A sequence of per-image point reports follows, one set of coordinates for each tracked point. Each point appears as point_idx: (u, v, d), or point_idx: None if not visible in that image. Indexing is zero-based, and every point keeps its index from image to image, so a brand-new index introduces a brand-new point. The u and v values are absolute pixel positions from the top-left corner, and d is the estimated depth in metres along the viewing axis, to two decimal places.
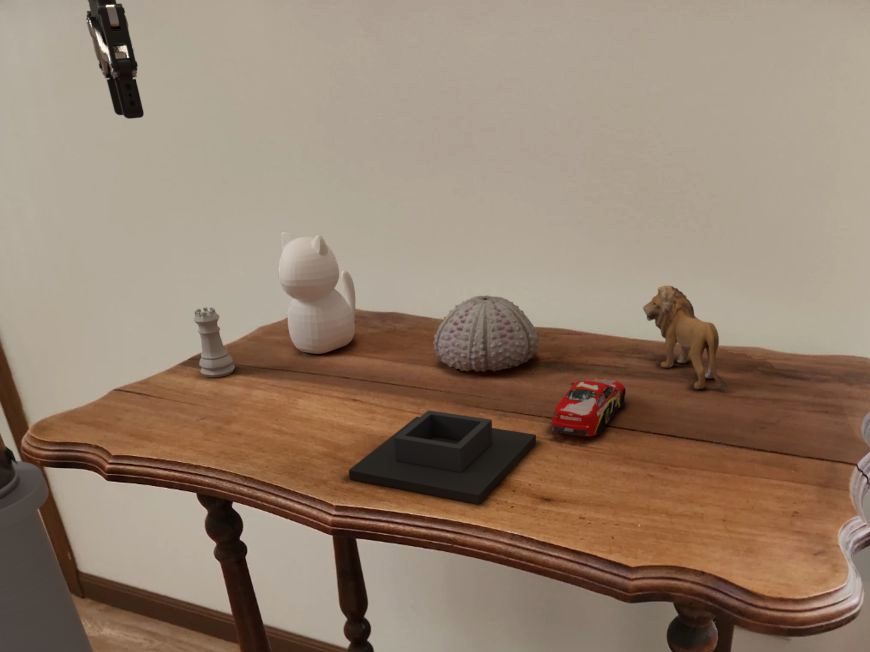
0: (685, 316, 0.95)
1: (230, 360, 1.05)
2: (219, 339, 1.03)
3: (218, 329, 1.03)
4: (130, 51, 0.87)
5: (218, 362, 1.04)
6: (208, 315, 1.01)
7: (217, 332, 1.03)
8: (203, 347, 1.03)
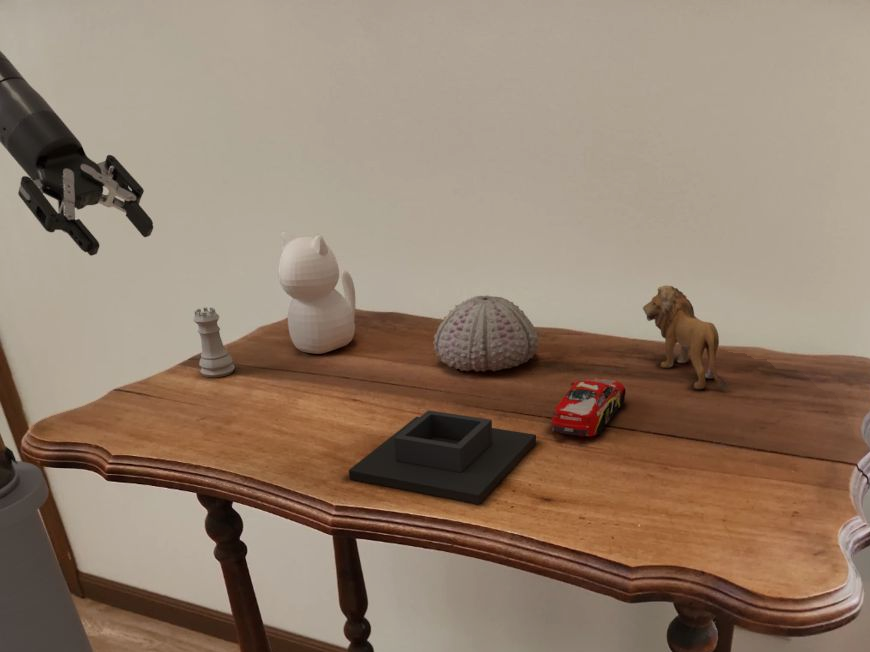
0: (685, 316, 0.95)
1: (230, 360, 1.05)
2: (219, 339, 1.03)
3: (218, 329, 1.03)
4: (131, 192, 1.06)
5: (218, 362, 1.04)
6: (208, 315, 1.01)
7: (217, 332, 1.03)
8: (203, 347, 1.03)
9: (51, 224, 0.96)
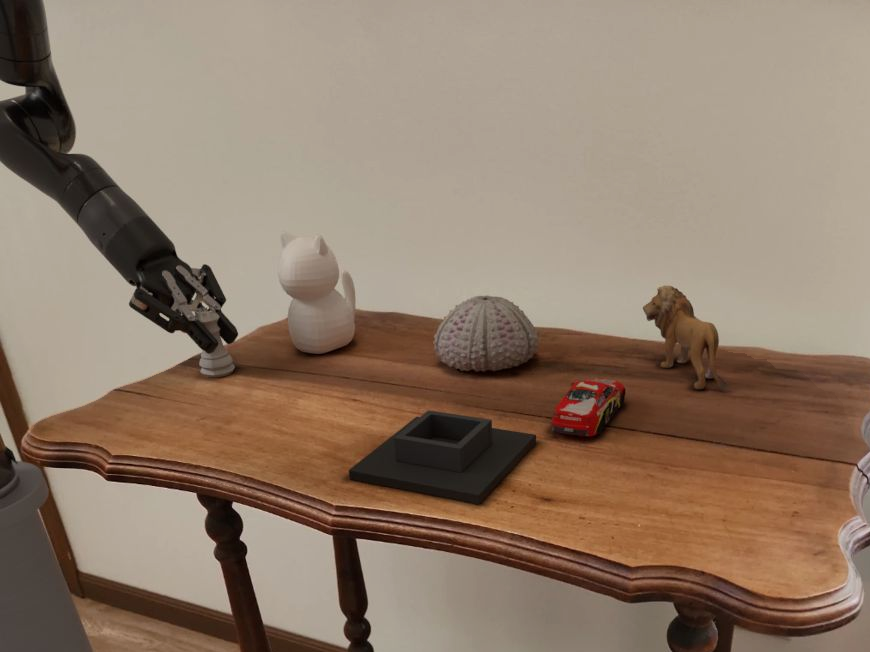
0: (684, 317, 0.95)
1: (230, 360, 1.05)
2: (219, 339, 1.03)
3: (218, 329, 1.03)
4: None
5: (218, 362, 1.04)
6: (208, 315, 1.01)
7: (217, 332, 1.03)
8: None
9: (174, 326, 0.99)
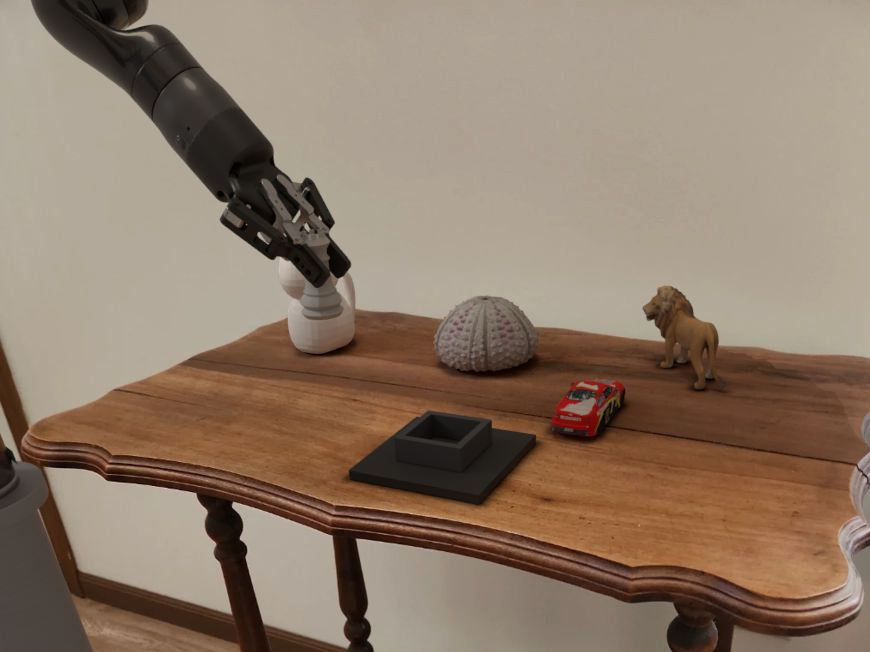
0: (684, 317, 0.95)
1: (340, 298, 0.83)
2: None
3: (328, 257, 0.81)
4: None
5: (326, 300, 0.82)
6: (317, 238, 0.79)
7: (327, 261, 0.81)
8: (308, 281, 0.81)
9: (276, 249, 0.77)
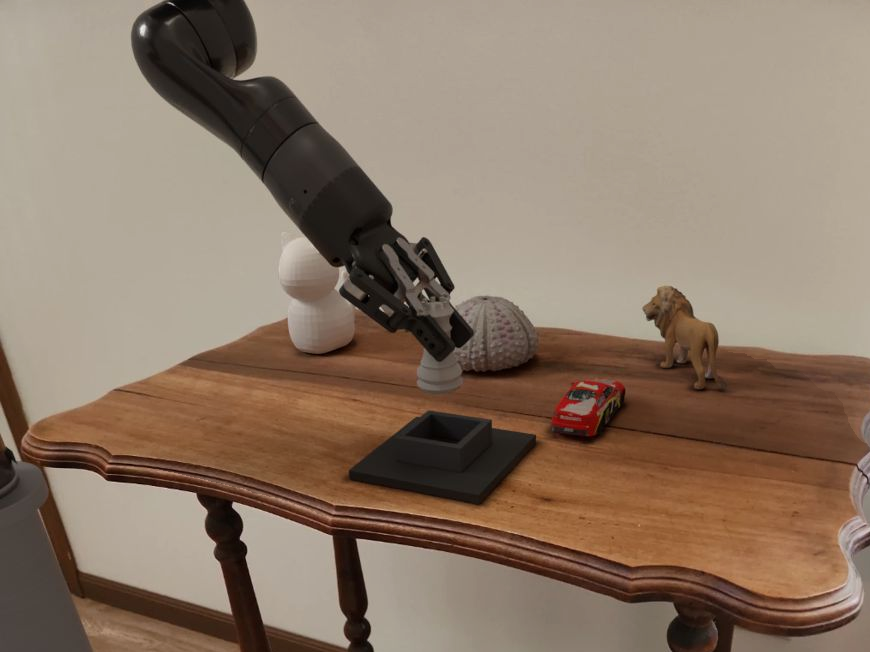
0: (684, 317, 0.95)
1: (460, 370, 0.76)
2: None
3: (450, 327, 0.73)
4: None
5: (448, 373, 0.74)
6: (442, 307, 0.72)
7: (449, 331, 0.73)
8: (427, 352, 0.74)
9: (399, 322, 0.70)
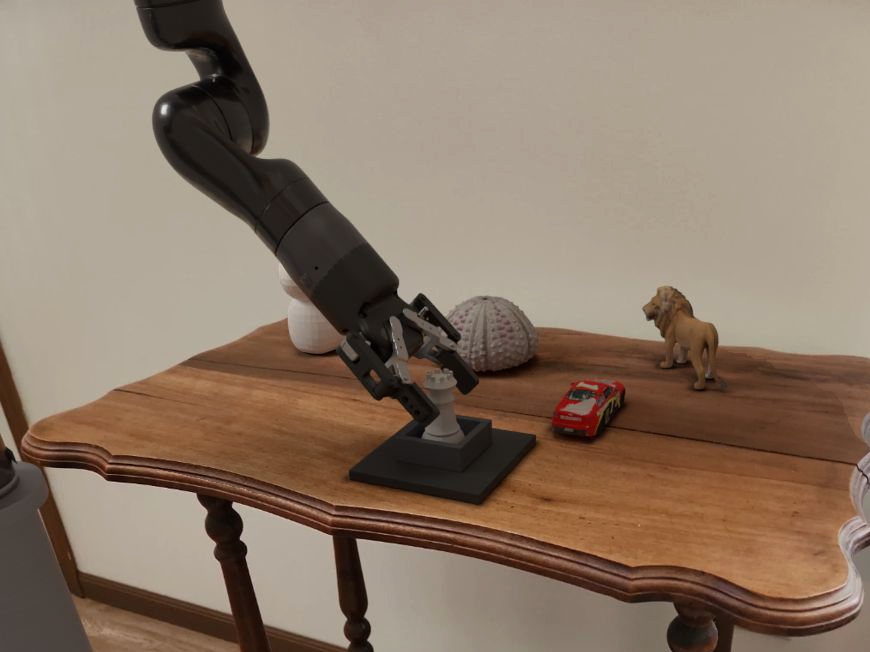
0: (684, 317, 0.95)
1: (463, 436, 0.79)
2: (453, 410, 0.78)
3: (454, 397, 0.77)
4: None
5: (451, 440, 0.78)
6: (446, 380, 0.76)
7: (452, 401, 0.77)
8: None
9: (385, 391, 0.71)
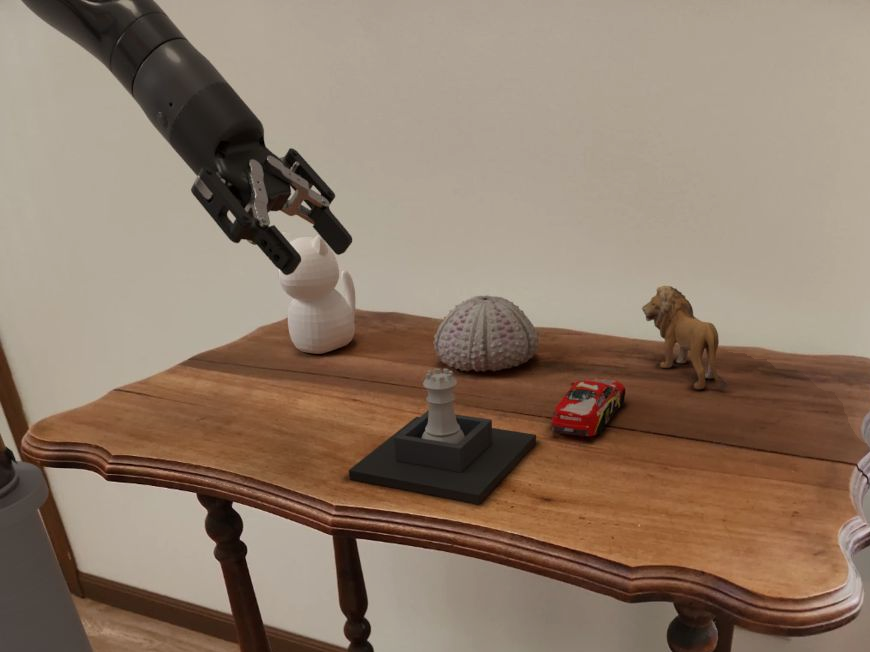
0: (684, 317, 0.95)
1: (463, 436, 0.79)
2: (453, 410, 0.78)
3: (454, 397, 0.77)
4: None
5: (451, 440, 0.78)
6: (446, 380, 0.76)
7: (452, 401, 0.77)
8: (432, 420, 0.78)
9: (240, 231, 0.69)
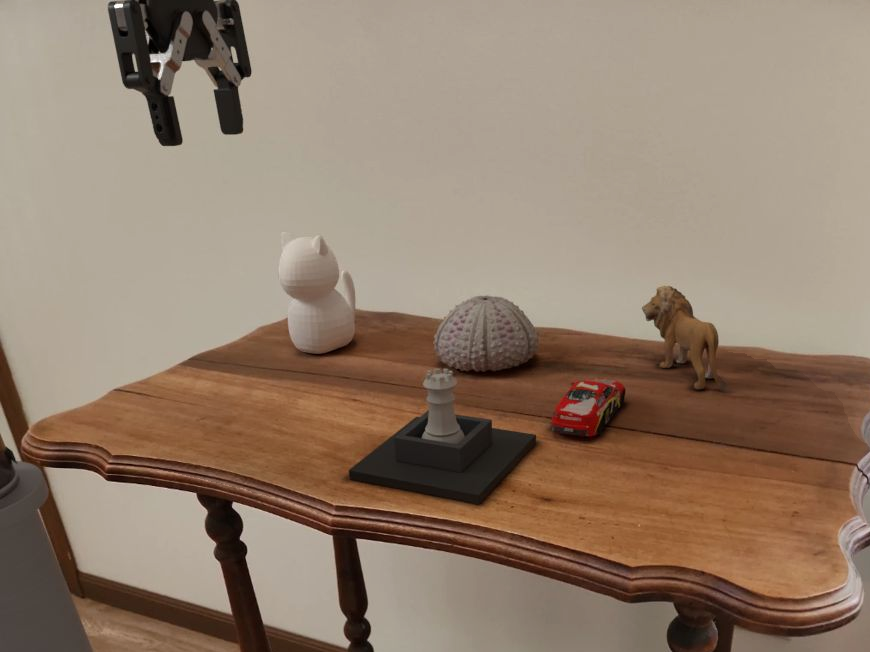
0: (684, 317, 0.95)
1: (463, 436, 0.79)
2: (453, 410, 0.78)
3: (454, 397, 0.77)
4: (230, 55, 0.77)
5: (451, 440, 0.78)
6: (446, 380, 0.76)
7: (452, 401, 0.77)
8: (432, 420, 0.78)
9: (137, 86, 0.67)
